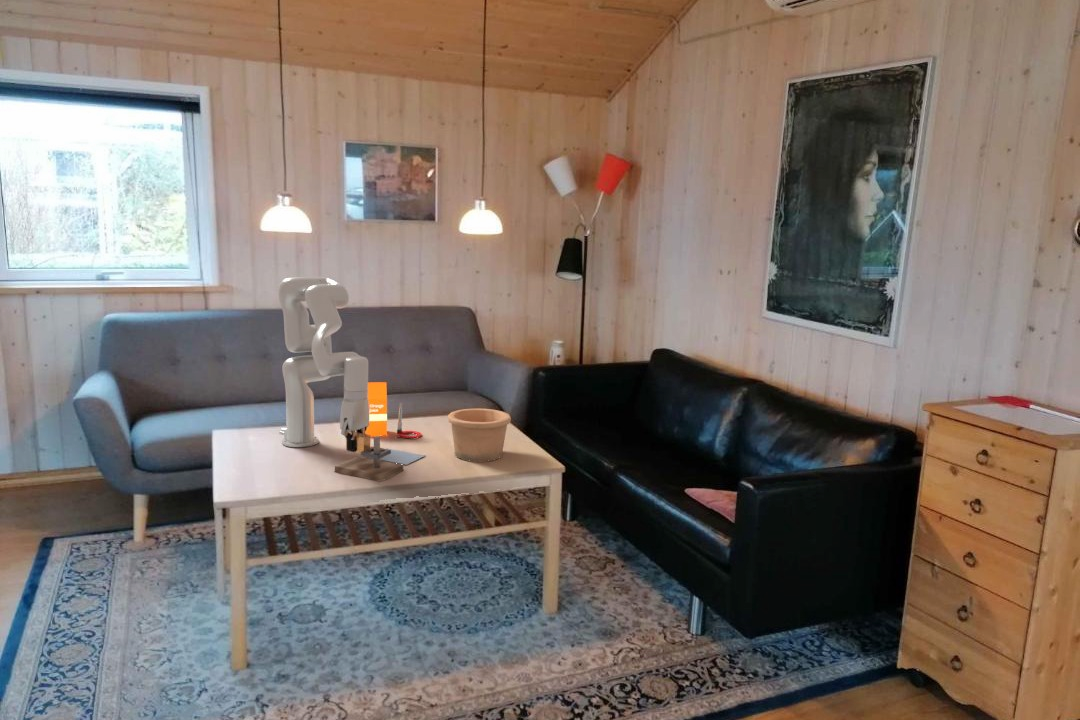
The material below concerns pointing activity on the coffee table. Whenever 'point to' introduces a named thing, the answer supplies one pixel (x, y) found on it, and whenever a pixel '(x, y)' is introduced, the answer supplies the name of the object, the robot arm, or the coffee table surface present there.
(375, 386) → the orange juice
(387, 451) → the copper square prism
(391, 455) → the mat
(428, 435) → the coffee table surface
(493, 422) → the pottery
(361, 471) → the post stand
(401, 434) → the tow hook
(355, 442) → the robot arm
